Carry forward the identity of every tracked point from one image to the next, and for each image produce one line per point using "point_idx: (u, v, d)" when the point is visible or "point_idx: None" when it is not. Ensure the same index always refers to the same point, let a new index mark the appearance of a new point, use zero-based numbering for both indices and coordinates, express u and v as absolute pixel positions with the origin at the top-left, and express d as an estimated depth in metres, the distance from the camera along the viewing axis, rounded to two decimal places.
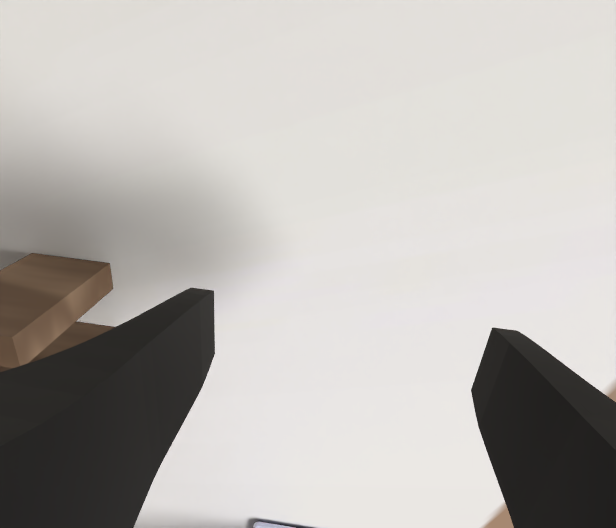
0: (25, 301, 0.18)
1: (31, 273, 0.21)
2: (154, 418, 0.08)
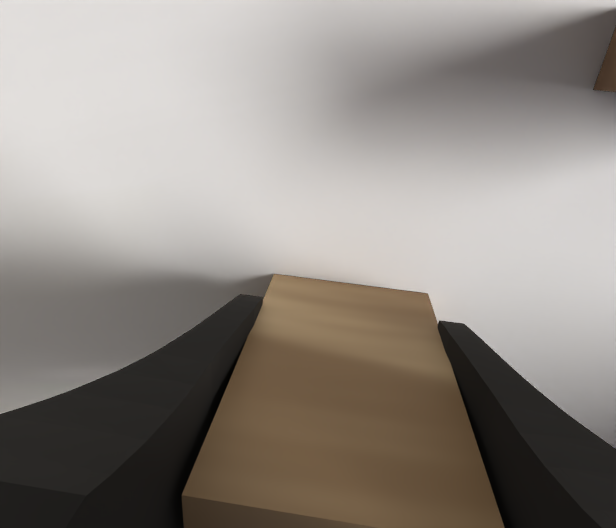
0: None
1: None
2: None
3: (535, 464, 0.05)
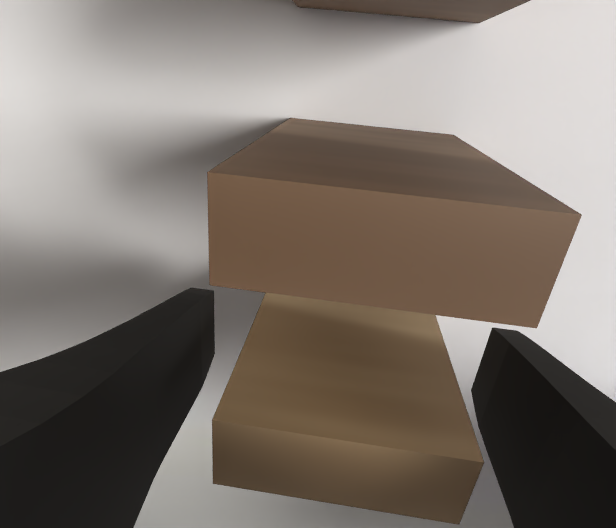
0: None
1: None
2: (154, 418, 0.08)
3: None
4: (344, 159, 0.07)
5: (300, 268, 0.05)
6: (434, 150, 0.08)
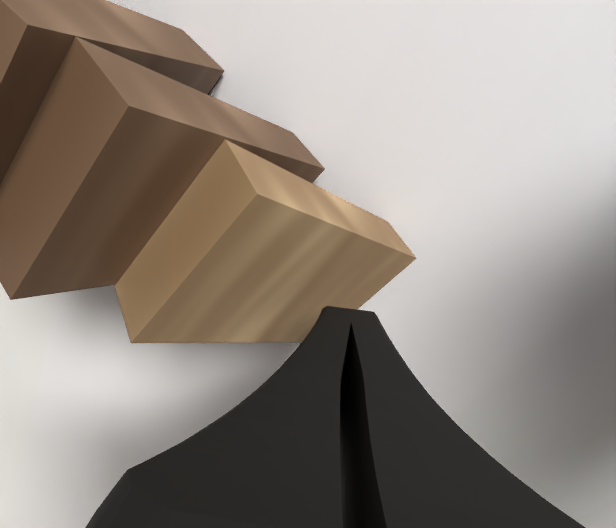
0: None
1: None
2: None
3: (368, 439, 0.05)
4: None
5: (26, 236, 0.07)
6: None
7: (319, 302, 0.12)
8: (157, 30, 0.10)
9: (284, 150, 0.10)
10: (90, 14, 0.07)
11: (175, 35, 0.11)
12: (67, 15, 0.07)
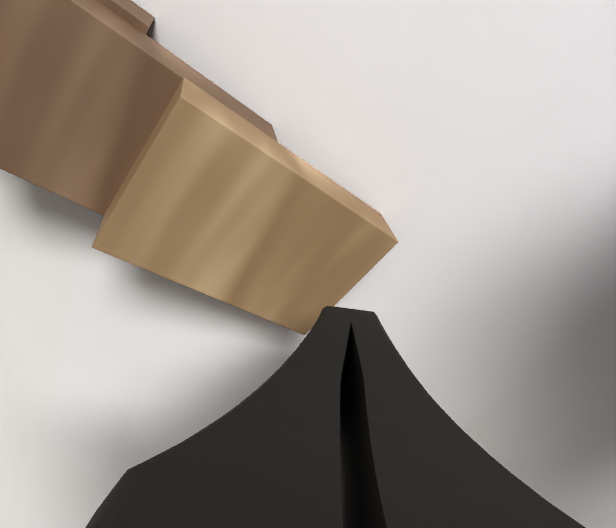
0: None
1: None
2: None
3: (368, 439, 0.05)
4: None
5: None
6: None
7: (287, 269, 0.12)
8: None
9: (210, 94, 0.10)
10: None
11: None
12: None
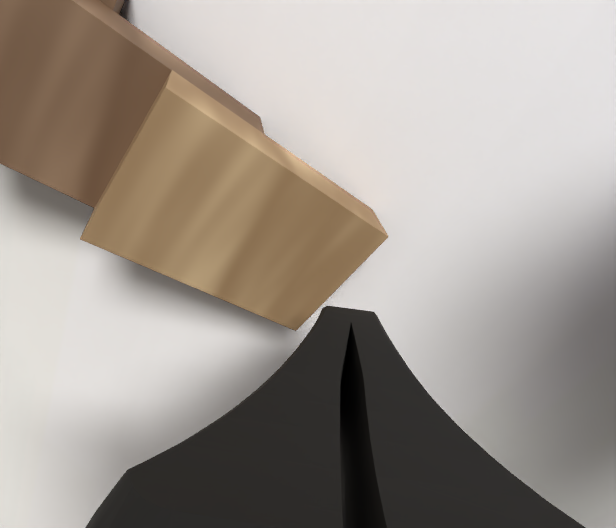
0: None
1: None
2: None
3: (368, 439, 0.05)
4: None
5: None
6: None
7: (277, 263, 0.12)
8: None
9: (194, 83, 0.10)
10: None
11: None
12: None
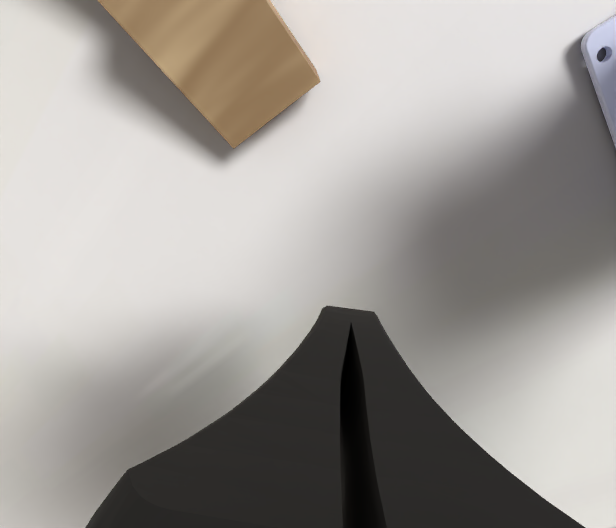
0: None
1: None
2: None
3: (368, 439, 0.05)
4: None
5: None
6: None
7: (232, 74, 0.15)
8: None
9: None
10: None
11: None
12: None
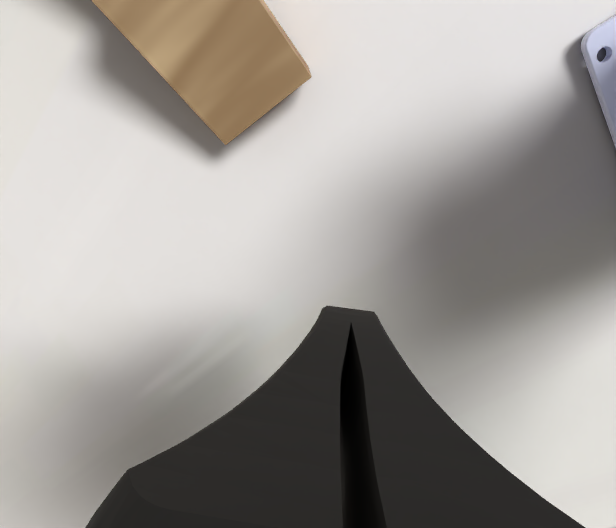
0: None
1: None
2: None
3: (368, 439, 0.05)
4: None
5: None
6: None
7: (222, 69, 0.15)
8: None
9: None
10: None
11: None
12: None
